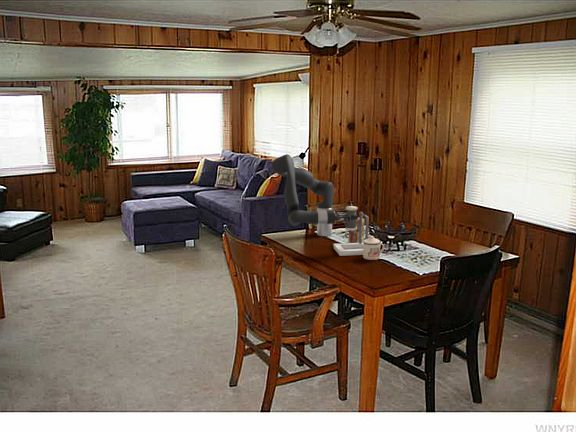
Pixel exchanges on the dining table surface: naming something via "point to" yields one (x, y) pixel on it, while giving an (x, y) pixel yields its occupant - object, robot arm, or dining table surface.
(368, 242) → the teacup with lid
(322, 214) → the robot arm
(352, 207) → the cord spool
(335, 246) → the white stand with posts
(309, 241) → the dining table surface
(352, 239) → the candy box
